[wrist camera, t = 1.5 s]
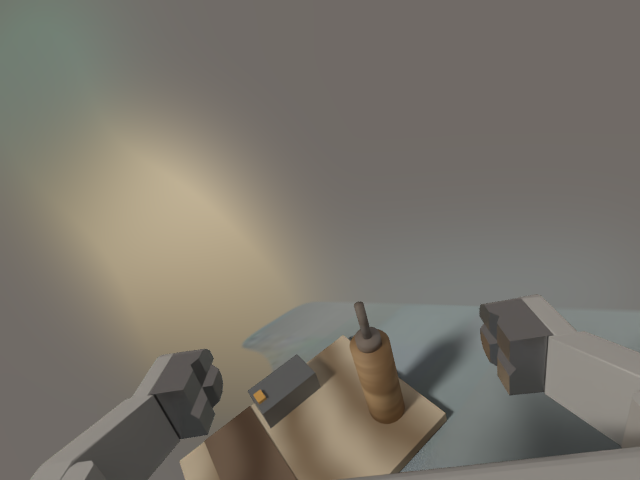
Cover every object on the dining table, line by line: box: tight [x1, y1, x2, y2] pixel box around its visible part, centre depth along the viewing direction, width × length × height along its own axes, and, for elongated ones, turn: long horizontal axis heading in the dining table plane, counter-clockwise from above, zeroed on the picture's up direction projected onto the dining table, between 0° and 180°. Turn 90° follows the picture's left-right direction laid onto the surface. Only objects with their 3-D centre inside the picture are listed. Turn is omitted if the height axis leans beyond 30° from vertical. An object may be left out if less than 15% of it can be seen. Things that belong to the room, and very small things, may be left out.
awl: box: [350, 302, 405, 424], centre depth 28 cm, size 3×3×12 cm
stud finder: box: [248, 355, 321, 428], centre depth 34 cm, size 6×4×2 cm, turn 126°
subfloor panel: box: [180, 336, 447, 480], centre depth 30 cm, size 20×14×1 cm
